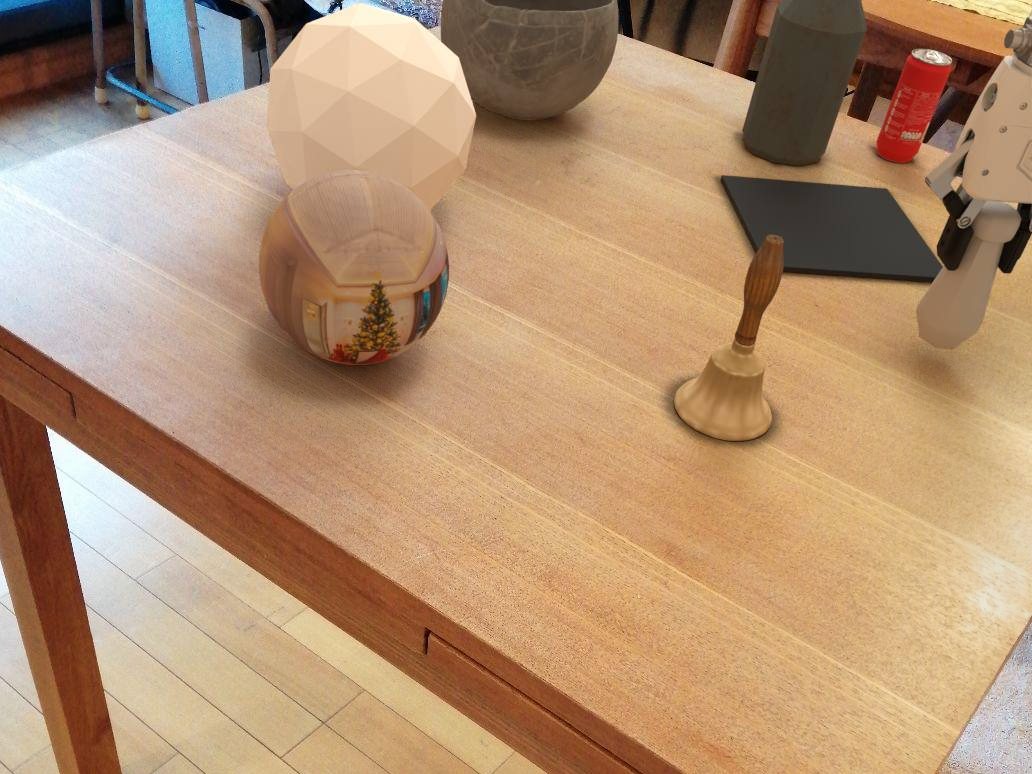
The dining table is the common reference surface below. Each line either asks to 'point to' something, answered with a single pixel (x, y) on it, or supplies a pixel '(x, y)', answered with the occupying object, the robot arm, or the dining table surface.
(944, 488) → the dining table surface
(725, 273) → the dining table surface
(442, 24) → the bowl
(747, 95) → the dining table surface
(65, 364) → the dining table surface
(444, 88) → the ball
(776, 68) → the bottle
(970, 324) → the salt shaker
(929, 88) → the beverage can
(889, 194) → the mat
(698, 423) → the hand bell
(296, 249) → the ornament
